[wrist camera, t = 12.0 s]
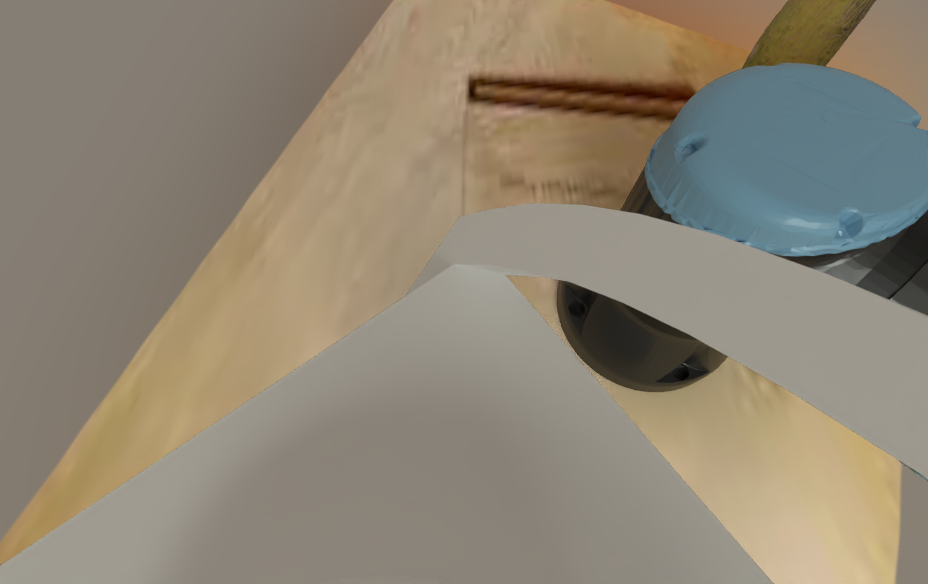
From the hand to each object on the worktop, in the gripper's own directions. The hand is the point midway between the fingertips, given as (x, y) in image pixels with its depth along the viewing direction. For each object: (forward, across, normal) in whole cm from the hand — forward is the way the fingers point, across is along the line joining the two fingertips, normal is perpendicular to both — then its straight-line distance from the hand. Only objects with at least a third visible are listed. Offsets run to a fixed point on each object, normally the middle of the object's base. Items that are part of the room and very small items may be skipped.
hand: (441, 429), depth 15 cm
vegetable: (+43, +30, +6) cm, 53 cm away
